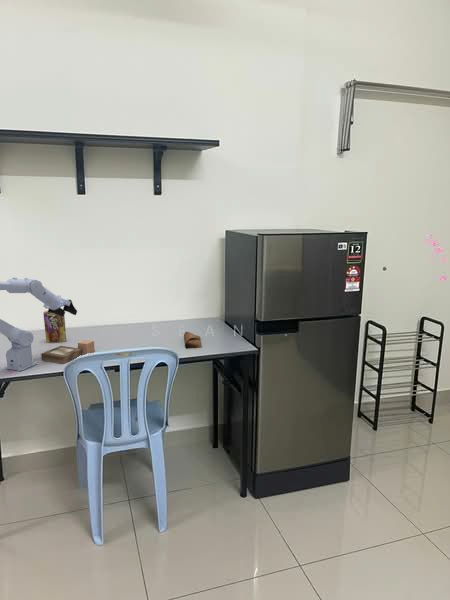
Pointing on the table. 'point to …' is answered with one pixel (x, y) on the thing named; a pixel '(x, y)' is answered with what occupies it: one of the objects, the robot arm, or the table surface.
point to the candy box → (54, 327)
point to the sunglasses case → (192, 340)
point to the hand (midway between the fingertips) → (70, 313)
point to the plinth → (61, 354)
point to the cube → (86, 346)
